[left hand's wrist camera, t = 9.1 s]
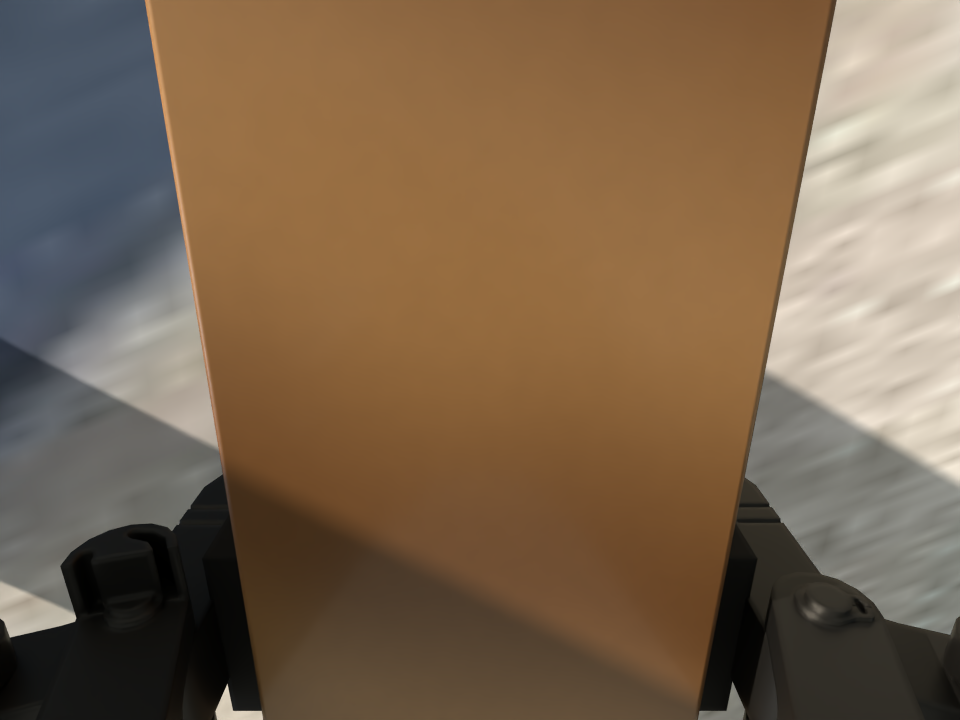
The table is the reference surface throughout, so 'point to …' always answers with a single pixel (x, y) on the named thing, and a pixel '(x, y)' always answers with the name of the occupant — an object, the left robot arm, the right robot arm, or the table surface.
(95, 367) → the table surface
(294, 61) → the beam
